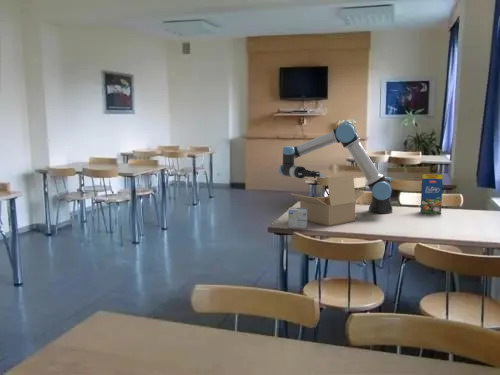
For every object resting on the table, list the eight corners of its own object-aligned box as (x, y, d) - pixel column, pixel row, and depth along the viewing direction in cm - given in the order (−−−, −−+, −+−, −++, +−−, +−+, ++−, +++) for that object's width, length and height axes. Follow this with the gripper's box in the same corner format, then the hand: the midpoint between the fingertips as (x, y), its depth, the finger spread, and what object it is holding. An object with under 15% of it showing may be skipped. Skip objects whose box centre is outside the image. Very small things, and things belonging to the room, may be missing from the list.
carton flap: (327, 177, 278) (327, 177, 277) (352, 175, 290) (353, 175, 290) (330, 205, 278) (331, 205, 277) (355, 201, 290) (356, 201, 290)
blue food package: (441, 214, 313) (443, 175, 309) (421, 213, 316) (423, 174, 312) (439, 212, 319) (441, 174, 315) (420, 211, 322) (422, 173, 318)
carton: (288, 221, 294) (288, 192, 292) (334, 213, 317) (335, 186, 315) (317, 228, 274) (318, 198, 272) (364, 219, 298) (365, 191, 295)
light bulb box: (306, 225, 282) (307, 207, 281) (307, 228, 275) (307, 209, 274) (288, 225, 283) (288, 207, 282) (288, 228, 277) (288, 209, 275)
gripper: (305, 177, 317) (332, 181, 298) (290, 178, 309) (316, 183, 290) (305, 165, 316) (332, 169, 297) (290, 166, 308) (317, 170, 289)
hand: (324, 176), depth 294 cm, fingers closed
